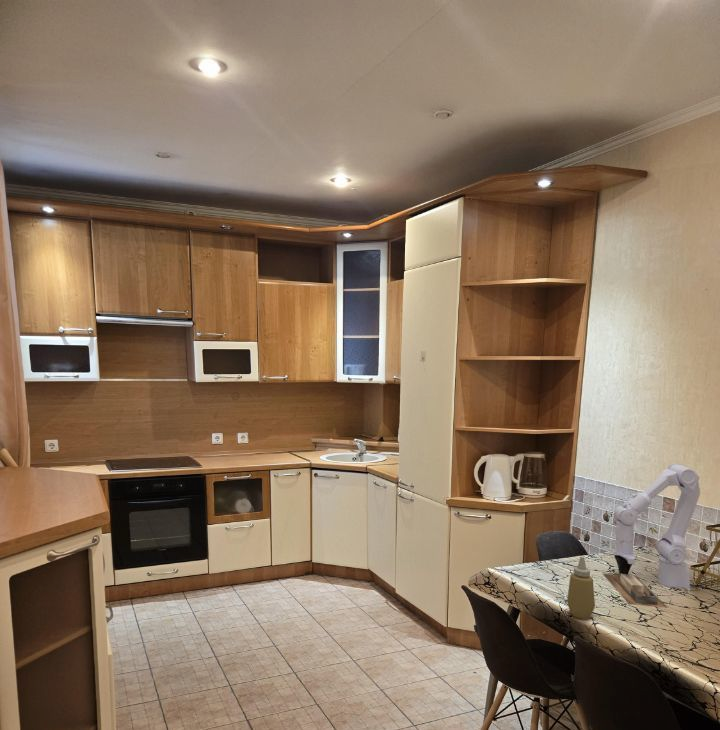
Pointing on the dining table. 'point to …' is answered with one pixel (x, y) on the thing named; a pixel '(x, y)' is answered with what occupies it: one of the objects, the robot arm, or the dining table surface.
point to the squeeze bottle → (581, 592)
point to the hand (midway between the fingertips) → (623, 576)
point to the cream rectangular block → (632, 584)
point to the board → (632, 597)
